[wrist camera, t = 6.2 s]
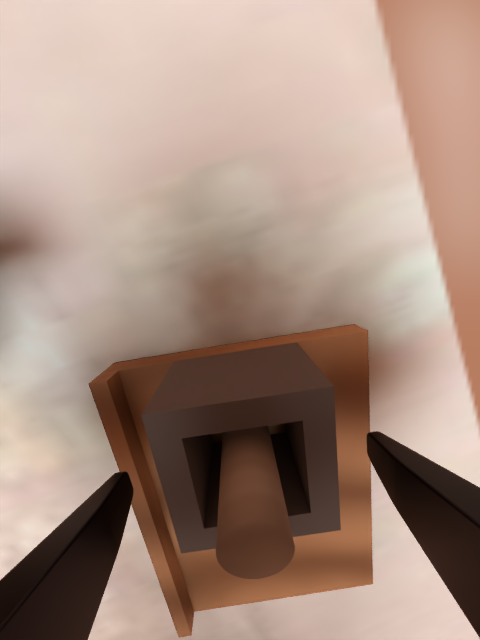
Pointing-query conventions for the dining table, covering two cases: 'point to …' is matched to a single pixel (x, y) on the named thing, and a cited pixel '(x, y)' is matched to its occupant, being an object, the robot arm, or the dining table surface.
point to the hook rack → (249, 487)
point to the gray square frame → (237, 414)
